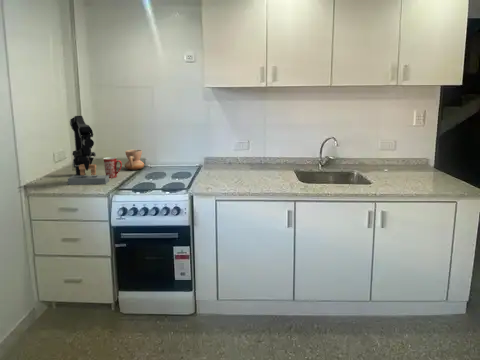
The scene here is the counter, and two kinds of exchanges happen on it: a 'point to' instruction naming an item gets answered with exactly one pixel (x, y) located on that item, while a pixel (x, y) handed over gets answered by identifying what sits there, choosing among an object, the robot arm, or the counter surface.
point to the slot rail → (88, 180)
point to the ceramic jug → (134, 160)
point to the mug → (111, 166)
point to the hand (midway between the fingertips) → (87, 169)
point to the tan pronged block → (91, 166)
